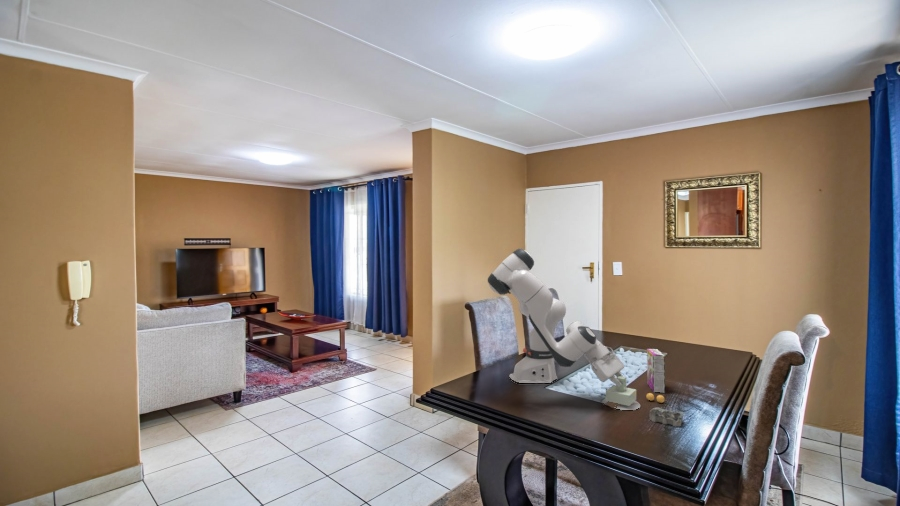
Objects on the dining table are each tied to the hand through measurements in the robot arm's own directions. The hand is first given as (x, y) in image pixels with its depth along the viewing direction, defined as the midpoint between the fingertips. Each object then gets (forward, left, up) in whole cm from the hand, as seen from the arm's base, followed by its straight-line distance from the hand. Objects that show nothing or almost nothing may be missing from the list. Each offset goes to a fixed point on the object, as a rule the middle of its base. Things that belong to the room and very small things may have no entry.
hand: (622, 384), depth 172 cm
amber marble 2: (+16, -1, -8) cm, 18 cm away
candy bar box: (+25, +14, -8) cm, 30 cm away
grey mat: (0, 0, -8) cm, 8 cm away
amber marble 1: (+13, +2, -8) cm, 16 cm away
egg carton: (+6, -17, -8) cm, 20 cm away
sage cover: (0, 0, -6) cm, 6 cm away
